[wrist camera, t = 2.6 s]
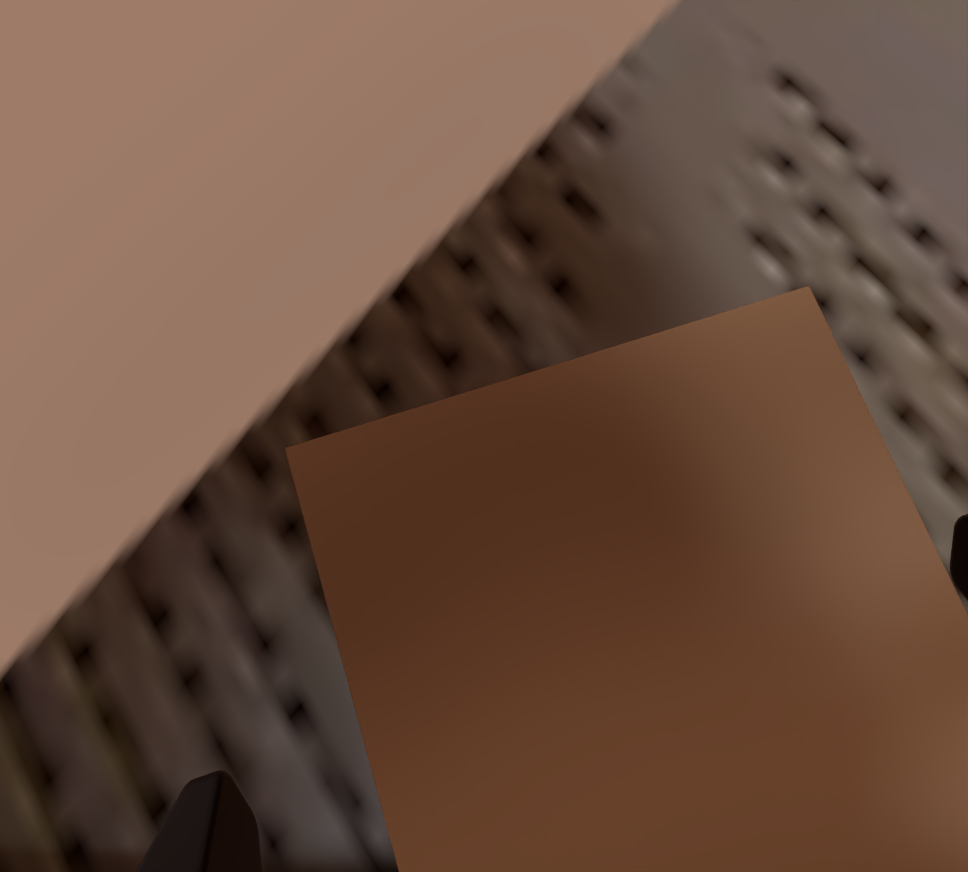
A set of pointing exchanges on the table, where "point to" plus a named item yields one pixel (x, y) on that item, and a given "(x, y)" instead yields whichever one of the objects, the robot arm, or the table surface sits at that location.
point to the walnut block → (648, 615)
